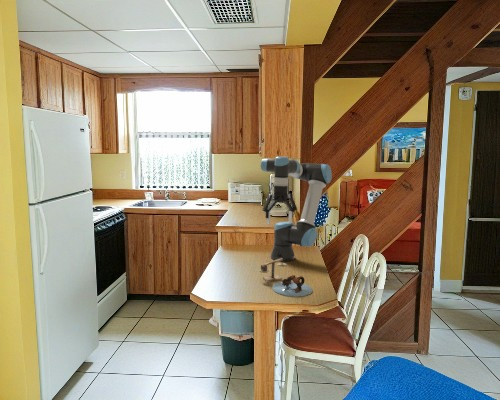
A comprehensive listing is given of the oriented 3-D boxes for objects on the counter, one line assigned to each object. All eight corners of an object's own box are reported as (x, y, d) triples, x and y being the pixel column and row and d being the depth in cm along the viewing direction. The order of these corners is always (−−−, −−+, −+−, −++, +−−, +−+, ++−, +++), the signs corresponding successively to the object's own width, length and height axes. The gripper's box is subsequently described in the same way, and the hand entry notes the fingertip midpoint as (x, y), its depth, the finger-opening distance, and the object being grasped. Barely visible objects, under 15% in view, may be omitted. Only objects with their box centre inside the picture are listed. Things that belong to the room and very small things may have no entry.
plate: (299, 280, 219) (299, 279, 219) (320, 293, 201) (320, 292, 201) (265, 284, 211) (265, 283, 211) (284, 298, 193) (284, 297, 193)
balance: (283, 276, 224) (284, 256, 223) (287, 279, 220) (288, 259, 218) (257, 279, 218) (257, 259, 216) (261, 282, 213) (262, 261, 212)
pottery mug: (292, 295, 197) (285, 279, 198) (283, 297, 205) (276, 282, 206) (311, 285, 203) (304, 270, 204) (301, 288, 211) (295, 273, 212)
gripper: (297, 184, 230) (295, 221, 233) (257, 184, 220) (255, 223, 223) (304, 185, 224) (302, 223, 227) (263, 186, 213) (261, 226, 216)
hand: (279, 223), depth 225 cm, fingers open, 13 cm apart
